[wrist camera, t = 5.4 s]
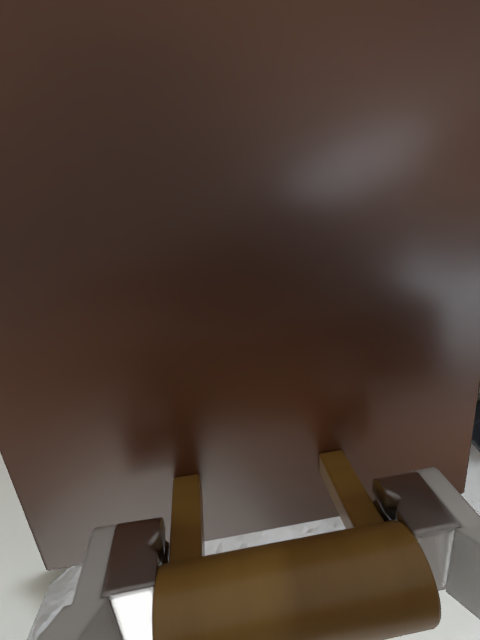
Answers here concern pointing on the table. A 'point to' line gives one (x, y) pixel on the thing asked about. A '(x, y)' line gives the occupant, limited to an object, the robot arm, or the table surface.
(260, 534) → the paper
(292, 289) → the chest lid
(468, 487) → the table surface
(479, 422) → the box
